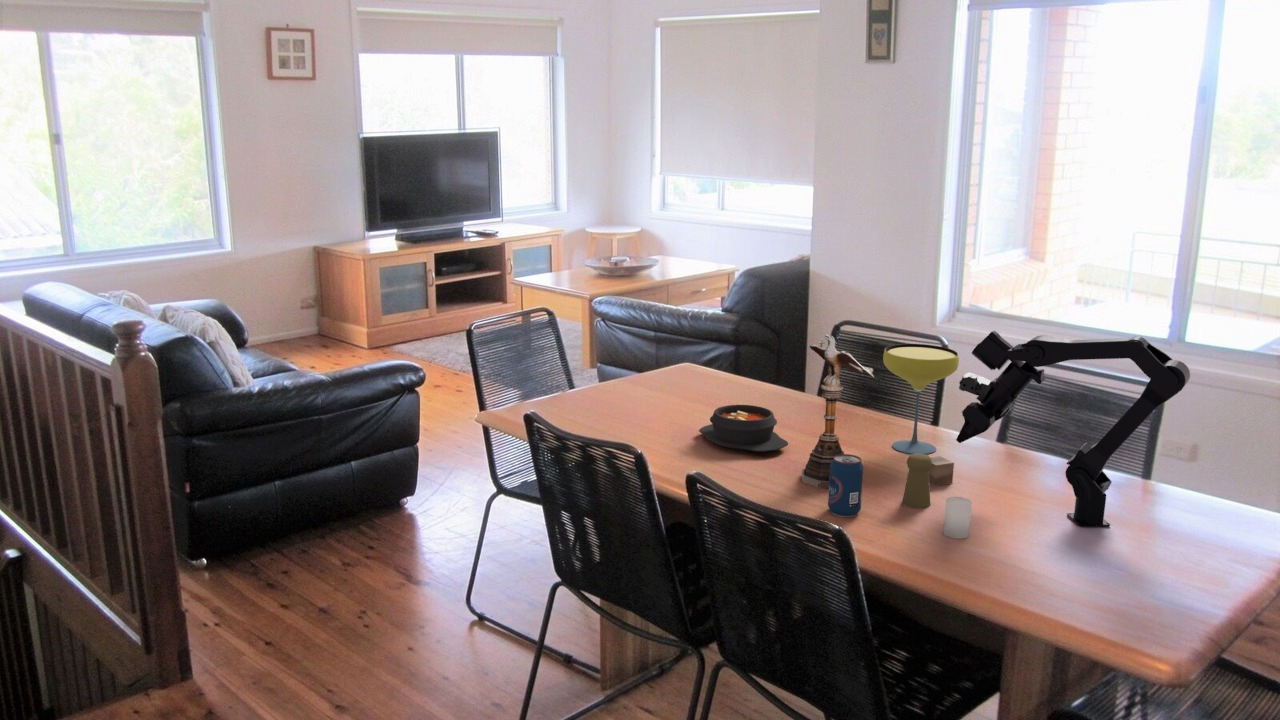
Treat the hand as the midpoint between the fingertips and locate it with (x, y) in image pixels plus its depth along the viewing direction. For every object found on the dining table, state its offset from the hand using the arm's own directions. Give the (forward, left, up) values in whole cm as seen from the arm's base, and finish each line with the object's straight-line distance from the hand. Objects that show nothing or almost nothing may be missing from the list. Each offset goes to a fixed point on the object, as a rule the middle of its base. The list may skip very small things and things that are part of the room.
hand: (964, 436), depth 232 cm
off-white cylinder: (-22, +8, -14) cm, 27 cm away
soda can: (-10, +28, -14) cm, 33 cm away
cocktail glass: (+33, 0, -14) cm, 36 cm away
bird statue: (+12, +26, -14) cm, 32 cm away
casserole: (+37, +43, -14) cm, 58 cm away
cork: (-5, +11, -14) cm, 19 cm away
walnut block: (+9, +2, -14) cm, 16 cm away
